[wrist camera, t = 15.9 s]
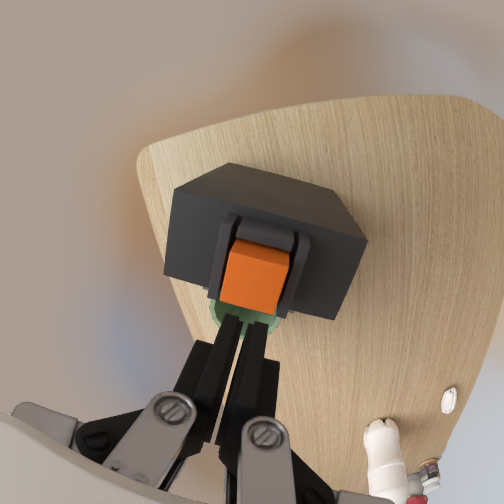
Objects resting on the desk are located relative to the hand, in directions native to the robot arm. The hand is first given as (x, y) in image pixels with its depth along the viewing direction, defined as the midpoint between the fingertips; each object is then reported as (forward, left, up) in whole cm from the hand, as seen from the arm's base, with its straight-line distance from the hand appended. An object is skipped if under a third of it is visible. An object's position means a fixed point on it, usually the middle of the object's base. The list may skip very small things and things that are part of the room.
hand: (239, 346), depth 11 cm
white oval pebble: (+26, +43, -24) cm, 56 cm away
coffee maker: (+5, 0, -24) cm, 24 cm away
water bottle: (+36, +32, -24) cm, 54 cm away
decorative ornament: (+66, +64, -24) cm, 95 cm away
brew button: (0, 0, -7) cm, 7 cm away
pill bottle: (+56, +62, -24) cm, 87 cm away
